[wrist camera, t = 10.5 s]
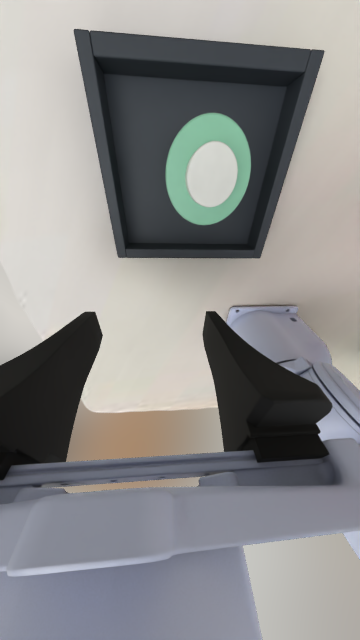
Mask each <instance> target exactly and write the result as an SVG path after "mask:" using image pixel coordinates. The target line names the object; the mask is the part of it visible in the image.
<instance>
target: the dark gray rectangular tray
mask: <svg viewBox="0 0 360 640" xmlns="http://www.w3.org/2000/svg"><path fill="white" fill-rule="evenodd" d="M74 35H75V40H76V45H77V51H78V56H79V61H80V66H81V71H82V76H83V81H84V86H85V91H86V96H87V102H88V107H89V112H90V117H91V122H92V127H93V132H94V137H95V142H96V147H97V153H98V158H99V163H100V168H101V173H102V178H103V183H104V188H105V193H106V198H107V203H108V209H109V214H110V219H111V224H112V229H113V234H114V239H115V244H116V249H117V254H118V257H119V258H126V257H127V258H260V257H261V253H262V250H263V247H264V244H265V241H266V237H267V234H268V231H269V228H270V225H271V221H272V218H273V215H274V212H275V209H276V206H277V202H278V199H279V196H280V193H281V190H282V186H283V183H284V180H285V177H286V174H287V170H288V167H289V164H290V161H291V158H292V154H293V151H294V148H295V145H296V142H297V138H298V135H299V132H300V129H301V126H302V122H303V119H304V116H305V113H306V110H307V106H308V103H309V100H310V97H311V94H312V90H313V87H314V84H315V81H316V78H317V74H318V71H319V68H320V65H321V62H322V58H323V55H324V50H310V49H300V48H288V47H277V46H265V45H253V44H242V43H230V42H219V41H207V40H195V39H184V38H172V37H161V36H149V35H138V34H126V33H114V32H103V31H90V32H89V31H88V30H81V29H74ZM206 113H219V114H223V115H225V116H228V117H229V118H231V119H232V120H233V121H235V122H236V123H237V124H238V126H239V127H240V128H241V129H242V131H243V133H244V135H245V137H246V139H247V142H248V145H249V149H250V156H251V172H250V178H249V182H248V186H247V189H246V191H245V194H244V196H243V198H242V200H241V201H240V203H239V204H238V206H237V207H236V208H235V210H234V211H233V212H232V213H231V214H230V215H229V216H227V217H226V218H225V219H223V220H221V221H219V222H217V223H214V224H211V225H197V224H194V223H191V222H189V221H187V220H186V219H184V218H183V217H182V216H181V215H180V214H179V213H178V212H177V211H176V209H175V208H174V206H173V204H172V203H171V200H170V198H169V195H168V191H167V186H166V177H165V174H166V162H167V158H168V153H169V150H170V148H171V145H172V143H173V141H174V139H175V137H176V136H177V134H178V133H179V131H180V130H181V129H182V128H183V126H185V125H186V124H187V123H188V122H189V121H190V120H192V119H193V118H195V117H197V116H199V115H202V114H206Z"/></svg>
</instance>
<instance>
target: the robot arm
mask: <svg viewBox="0 0 360 640" xmlns="http://www.w3.org/2000/svg"><path fill="white" fill-rule="evenodd" d="M236 310H238V311H236ZM297 311H298V307H296V306H253V307H232V308H230V310H229V314H228V318H227V322H225V321H224V320H223V319H222V318H221V317H220V316H219V315H218V314H217V313H216V312H215V311H206V316H205V322H204V328H203V341H204V347H205V351H206V354H207V358H208V361H209V365H210V368H211V372H212V375H213V380H214V385H215V390H216V396H217V402H218V408H219V415H220V422H221V429H222V438H223V446H224V452H218V453H202V454H186V455H172V456H171V455H170V456H155V457H140V458H139V457H138V458H123V459H107V460H91V461H75V462H66V458H67V453H68V448H69V442H70V438H71V434H72V429H73V425H74V421H75V417H76V413H77V409H78V405H79V402H80V398H81V395H82V391H83V388H84V385H85V382H86V380H87V377H88V375H89V372H90V370H91V368H92V365H93V363H94V361H95V358H96V356H97V353H98V351H99V348H100V344H101V340H102V336H103V335H102V332H101V329H100V325H99V322H98V319H97V316H96V313H95V312H84V313H83V314H81V315H80V316H78V317H77V318H76V319H74V320H73V321H72V322H70V323H69V324H68V325H66V326H65V327H63V328H62V329H61V330H59V331H58V332H57V333H55V334H54V335H52V336H51V337H49V338H48V339H46V340H45V341H43V342H42V343H40V344H39V345H37V346H35V347H34V348H32V349H31V350H29V351H27V352H25V353H24V354H22V355H20V356H18V357H16V358H14V359H12V360H10V361H8V362H6V363H4V364H2V365H0V640H262V635H261V631H260V626H259V621H258V616H257V611H256V607H255V602H254V597H253V592H252V588H251V583H250V578H249V573H248V568H247V564H246V559H245V555H244V550H243V545H251V544H259V543H266V542H274V541H282V540H290V539H298V538H306V537H313V536H321V535H330V534H337V533H343V535H344V536H345V538H346V539H347V541H348V542H349V544H350V545H351V547H352V549H353V550H354V552H355V553H356V555H357V556H358V558H359V559H360V391H359V390H358V389H357V388H356V387H355V386H354V385H353V384H352V383H351V382H350V381H349V380H348V379H347V378H346V377H345V376H344V375H343V374H342V373H341V372H340V371H339V370H338V369H336V368H335V367H334V366H333V365H332V359H331V355H330V352H329V350H328V348H327V346H326V344H325V343H324V342H323V341H322V340H321V339H320V338H319V337H318V336H317V335H316V334H315V333H314V332H313V331H312V330H311V329H310V328H309V327H308V325H307V324H306V323H305V322H304V321H303V320H302V319H301V318H300V317H299V316H298V315H297V314H296V313H297ZM203 476H205V477H203ZM189 477H201V478H200V479H199V486H197V487H149V488H129V489H115V490H103V491H93V492H81V493H67V492H66V491H65V490H64V489H62V488H52V487H66V486H79V485H93V484H106V483H121V482H134V481H148V480H161V479H176V478H189Z"/></svg>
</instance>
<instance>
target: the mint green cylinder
mask: <svg viewBox="0 0 360 640" xmlns="http://www.w3.org/2000/svg"><path fill="white" fill-rule="evenodd" d="M250 172H251V156H250V149H249V145H248V142H247V139H246V137H245V135H244V133H243V131H242V129H241V128H240V127H239V126H238V124H237V123H236V122H235V121H233V120H232V119H231V118H229V117H228V116H225V115H223V114H219V113H206V114H202V115H199V116H197V117H195V118H193V119H192V120H190V121H189V122H188V123H187V124H186V125H185V126H183V128H182V129H181V130H180V131H179V133H178V134H177V136H176V137H175V139H174V141H173V143H172V145H171V148H170V150H169V153H168V158H167V162H166V174H165V177H166V186H167V191H168V195H169V198H170V200H171V203H172V204H173V206H174V208H175V209H176V211H177V212H178V213H179V214H180V215H181V216H182V217H183V218H184V219H186V220H187V221H189V222H191V223H194V224H197V225H211V224H214V223H217V222H219V221H221V220H223V219H225V218H226V217H227V216H229V215H230V214H231V213H232V212H233V211H234V210H235V208H236V207H237V206H238V204H239V203H240V201H241V200H242V198H243V196H244V194H245V191H246V189H247V186H248V182H249V178H250Z"/></svg>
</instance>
